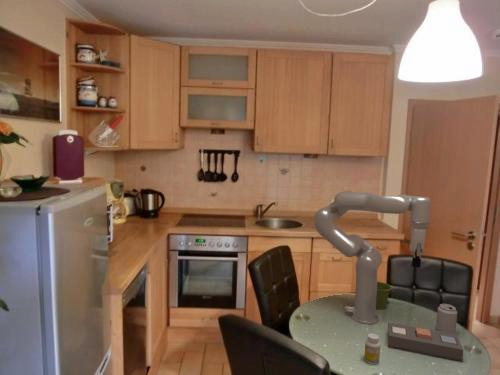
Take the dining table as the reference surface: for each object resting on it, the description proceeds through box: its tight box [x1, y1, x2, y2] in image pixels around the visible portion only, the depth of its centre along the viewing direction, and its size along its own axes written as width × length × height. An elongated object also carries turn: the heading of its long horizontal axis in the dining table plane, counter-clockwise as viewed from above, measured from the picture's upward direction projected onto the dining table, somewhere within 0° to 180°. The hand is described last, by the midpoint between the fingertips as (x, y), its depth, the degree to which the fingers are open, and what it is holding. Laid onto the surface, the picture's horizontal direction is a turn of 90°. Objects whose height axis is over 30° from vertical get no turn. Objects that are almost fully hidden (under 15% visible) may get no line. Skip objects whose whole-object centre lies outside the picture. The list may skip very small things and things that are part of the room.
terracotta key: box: [416, 327, 431, 340], centre depth 140 cm, size 5×5×4 cm
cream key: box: [392, 327, 406, 335], centre depth 144 cm, size 5×5×4 cm
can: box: [435, 303, 458, 334], centre depth 152 cm, size 8×8×12 cm
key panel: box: [387, 322, 464, 363], centre depth 141 cm, size 26×12×5 cm, turn 70°
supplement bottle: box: [364, 333, 381, 365], centre depth 130 cm, size 5×5×10 cm
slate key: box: [440, 335, 457, 345], centre depth 137 cm, size 5×5×4 cm
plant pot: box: [376, 281, 393, 310], centre depth 177 cm, size 12×12×11 cm
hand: (416, 266), depth 151 cm, fingers closed
